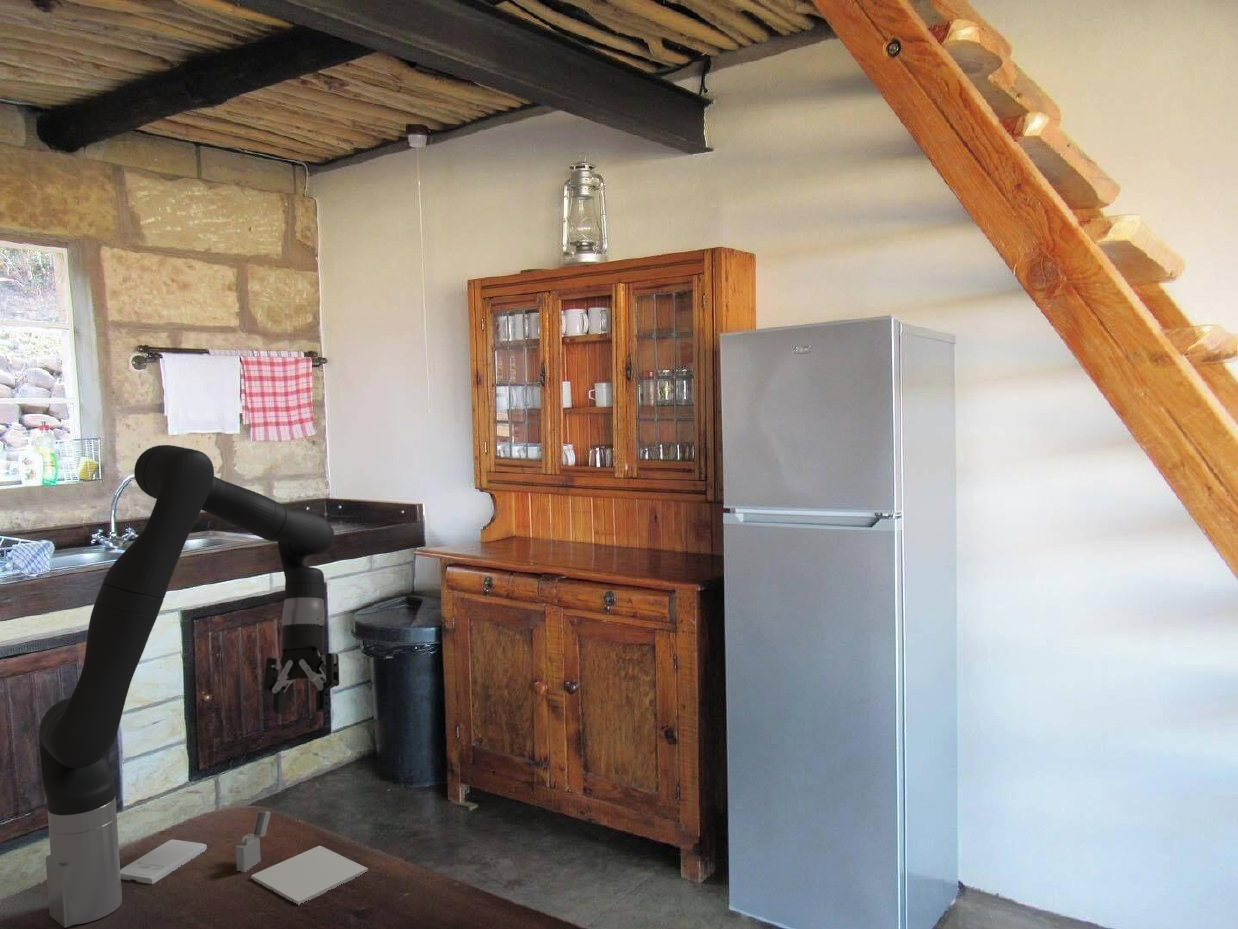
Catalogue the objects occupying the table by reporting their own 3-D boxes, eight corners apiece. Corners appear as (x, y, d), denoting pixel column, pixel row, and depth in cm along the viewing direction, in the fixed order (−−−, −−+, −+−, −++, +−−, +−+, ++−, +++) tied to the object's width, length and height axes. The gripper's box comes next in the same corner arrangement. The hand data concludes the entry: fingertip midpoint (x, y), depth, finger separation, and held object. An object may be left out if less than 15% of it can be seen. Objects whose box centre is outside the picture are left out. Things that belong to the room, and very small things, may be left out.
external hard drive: (207, 853, 166) (152, 887, 154) (170, 847, 168) (113, 881, 156) (206, 844, 166) (152, 877, 154) (169, 838, 168) (113, 871, 156)
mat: (298, 905, 146) (298, 901, 146) (251, 879, 155) (251, 875, 155) (368, 872, 156) (367, 868, 156) (319, 848, 165) (319, 845, 165)
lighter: (244, 872, 157) (242, 826, 156) (236, 871, 157) (233, 825, 157) (272, 853, 164) (270, 809, 163) (264, 852, 164) (262, 807, 164)
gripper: (257, 625, 173) (253, 715, 169) (325, 619, 169) (323, 711, 165) (282, 628, 180) (278, 715, 176) (348, 622, 176) (346, 711, 172)
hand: (300, 713), depth 170 cm, fingers open, 8 cm apart
